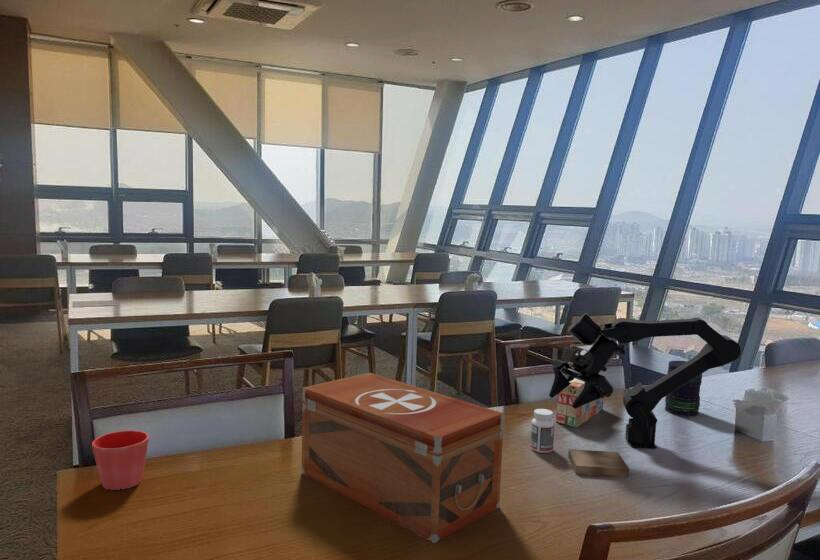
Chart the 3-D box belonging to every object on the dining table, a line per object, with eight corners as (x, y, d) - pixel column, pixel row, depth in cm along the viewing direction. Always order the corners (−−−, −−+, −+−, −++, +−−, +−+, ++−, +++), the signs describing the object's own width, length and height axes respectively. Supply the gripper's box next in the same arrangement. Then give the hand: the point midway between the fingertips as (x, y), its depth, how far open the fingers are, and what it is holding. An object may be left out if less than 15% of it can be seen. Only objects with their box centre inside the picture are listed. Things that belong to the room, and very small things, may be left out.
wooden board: (617, 459, 152) (618, 452, 152) (628, 477, 143) (629, 468, 142) (568, 456, 153) (568, 449, 153) (575, 473, 143) (576, 465, 143)
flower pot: (94, 476, 135) (93, 433, 133) (149, 469, 139) (148, 427, 138) (91, 497, 125) (89, 451, 124) (149, 489, 129) (149, 444, 128)
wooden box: (367, 449, 154) (369, 371, 152) (501, 507, 126) (506, 413, 124) (300, 473, 139) (301, 387, 137) (435, 545, 112) (439, 438, 109)
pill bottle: (555, 447, 159) (557, 410, 158) (550, 455, 154) (552, 416, 153) (533, 443, 162) (535, 406, 160) (527, 450, 156) (529, 413, 155)
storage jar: (668, 404, 199) (672, 359, 197) (701, 411, 193) (706, 364, 191) (660, 412, 191) (664, 364, 189) (695, 419, 185) (699, 370, 183)
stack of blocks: (583, 405, 195) (586, 367, 194) (603, 410, 191) (605, 371, 190) (555, 423, 178) (558, 381, 177) (576, 428, 174) (579, 385, 173)
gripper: (558, 330, 168) (523, 373, 164) (607, 344, 151) (568, 393, 147) (579, 356, 172) (545, 398, 169) (629, 373, 155) (592, 421, 152)
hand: (561, 402), depth 159 cm, fingers open, 9 cm apart
